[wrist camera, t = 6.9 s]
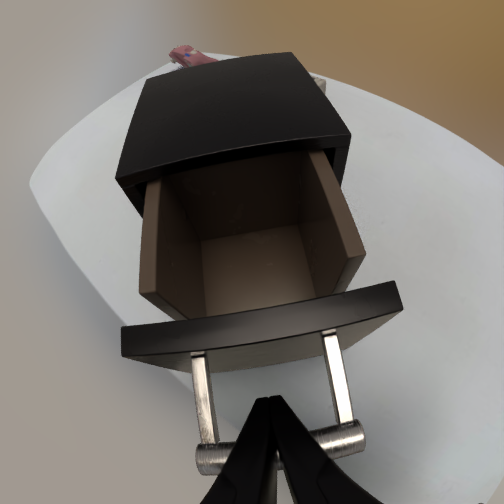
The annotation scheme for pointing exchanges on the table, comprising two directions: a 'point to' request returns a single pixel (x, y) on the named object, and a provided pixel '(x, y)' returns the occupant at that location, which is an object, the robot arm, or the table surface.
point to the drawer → (255, 283)
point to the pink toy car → (189, 56)
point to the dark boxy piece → (228, 120)
